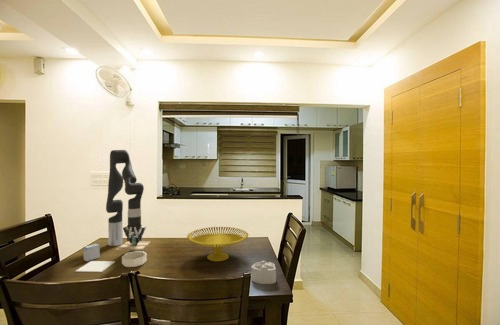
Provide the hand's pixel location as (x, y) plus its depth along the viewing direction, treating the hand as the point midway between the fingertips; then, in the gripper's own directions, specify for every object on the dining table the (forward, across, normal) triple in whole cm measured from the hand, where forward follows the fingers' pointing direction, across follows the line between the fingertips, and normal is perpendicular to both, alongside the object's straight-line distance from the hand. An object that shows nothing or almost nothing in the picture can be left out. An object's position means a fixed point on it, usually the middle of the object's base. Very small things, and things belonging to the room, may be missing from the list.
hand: (134, 243), depth 160 cm
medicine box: (+13, +30, -5) cm, 33 cm away
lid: (+2, 0, 0) cm, 2 cm away
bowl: (+12, 0, 0) cm, 12 cm away
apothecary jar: (+13, +8, -17) cm, 23 cm away
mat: (+12, +20, +6) cm, 24 cm away
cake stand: (+13, -50, -12) cm, 53 cm away
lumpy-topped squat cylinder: (+13, -79, +18) cm, 82 cm away
